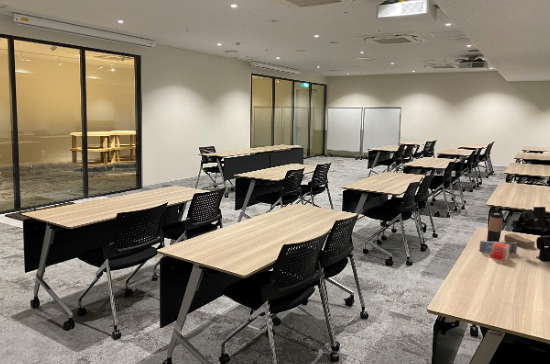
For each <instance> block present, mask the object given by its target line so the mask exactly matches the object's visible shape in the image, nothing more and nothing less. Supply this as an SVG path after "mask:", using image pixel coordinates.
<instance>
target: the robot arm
mask: <svg viewBox="0 0 550 364" xmlns="http://www.w3.org/2000/svg"><path fill="white" fill-rule="evenodd" d="M520 215H521V217H522V218H523V222H522V220H521V219H514V220H512V223H510V226H511V228H512V229H513V231H522V229H523V228H525V230H528V229H529V230H534V229H535V230H537V229H538V230H540V233H545V232H547V231H548V230H550V215H547V212H546V206H533V210H532V209H528V210H524V211H522V212H521V214H520ZM535 243H536V249H537V250H538V251H539V253H538V256H537V255H536V258H537V259H538V260H540V261H541V262H550V235H540V236H537V238H536V241H535Z"/></svg>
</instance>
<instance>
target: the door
mask: <svg viewBox="0 0 550 364" xmlns="http://www.w3.org/2000/svg"><path fill="white" fill-rule="evenodd" d="M484 241H485V240H484ZM485 242H486V243H485V250H484V252H490V253H491V249H492V244H493V243H495V242H487V240H486V241H485ZM499 242H500V243H504V244H509V245H510V249H509V254H512V245H513V242H507V241H499Z"/></svg>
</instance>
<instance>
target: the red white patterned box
mask: <svg viewBox="0 0 550 364" xmlns="http://www.w3.org/2000/svg"><path fill="white" fill-rule="evenodd" d="M500 242H501V241H499V242H495V243H493V244H492V249H491V252H490V256H489V257H490V258H492V259H496V260H500V261H504V262H505V261H506V260H507V259H508V258H509V255H510V253H509V249H510V245H509V244H504V243H500Z"/></svg>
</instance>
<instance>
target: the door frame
mask: <svg viewBox="0 0 550 364" xmlns="http://www.w3.org/2000/svg"><path fill="white" fill-rule="evenodd" d="M485 243H486V242H485V240H480V244H479V249H478V250H479V252H480V253H485V251H484V250H485ZM517 244H518V243H516V242H513V245H512V252H511V254H517V249H518V245H517Z"/></svg>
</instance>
